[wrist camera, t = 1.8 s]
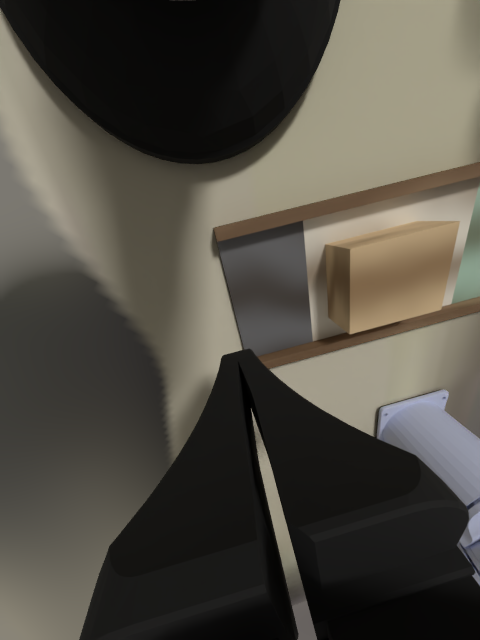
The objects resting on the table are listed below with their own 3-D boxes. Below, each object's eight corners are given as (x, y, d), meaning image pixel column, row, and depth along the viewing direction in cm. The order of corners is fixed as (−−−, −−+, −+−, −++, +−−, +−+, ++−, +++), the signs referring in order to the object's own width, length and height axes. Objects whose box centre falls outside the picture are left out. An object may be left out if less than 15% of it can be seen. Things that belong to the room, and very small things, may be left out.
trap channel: (593, 271, 21) (615, 274, 19) (248, 364, 19) (250, 373, 18) (673, 113, 15) (709, 106, 14) (213, 227, 14) (213, 228, 13)
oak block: (406, 296, 18) (441, 309, 16) (328, 317, 18) (349, 334, 15) (416, 220, 16) (460, 220, 13) (325, 244, 16) (350, 249, 13)
